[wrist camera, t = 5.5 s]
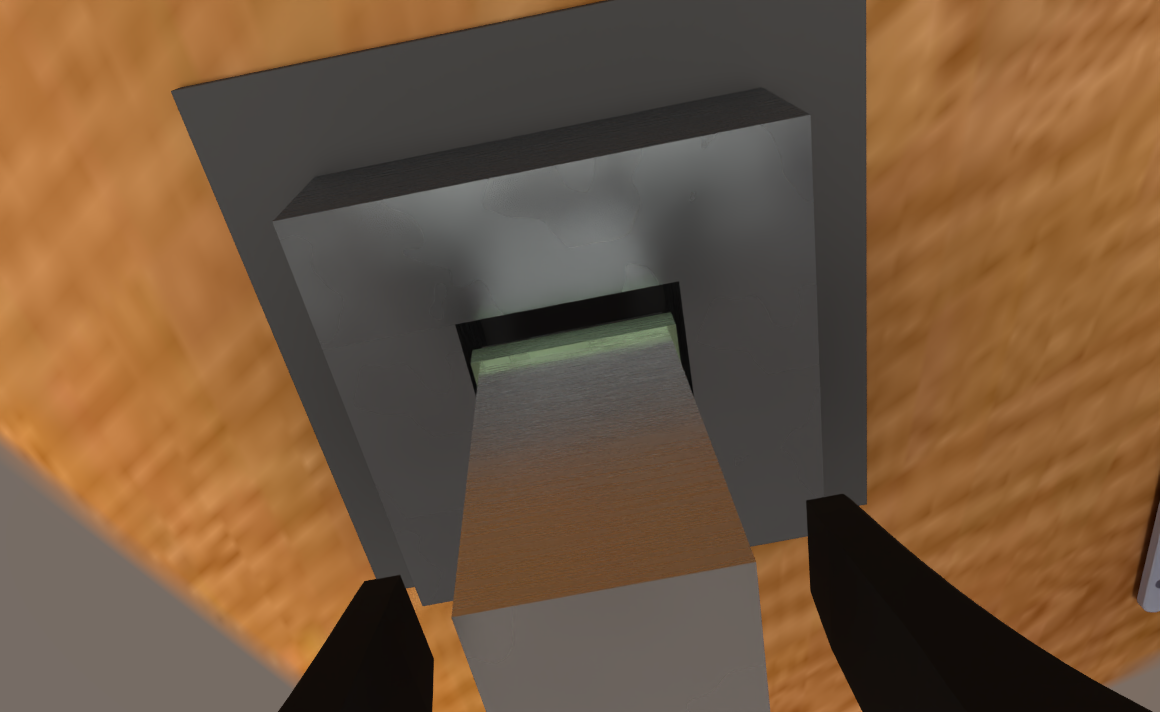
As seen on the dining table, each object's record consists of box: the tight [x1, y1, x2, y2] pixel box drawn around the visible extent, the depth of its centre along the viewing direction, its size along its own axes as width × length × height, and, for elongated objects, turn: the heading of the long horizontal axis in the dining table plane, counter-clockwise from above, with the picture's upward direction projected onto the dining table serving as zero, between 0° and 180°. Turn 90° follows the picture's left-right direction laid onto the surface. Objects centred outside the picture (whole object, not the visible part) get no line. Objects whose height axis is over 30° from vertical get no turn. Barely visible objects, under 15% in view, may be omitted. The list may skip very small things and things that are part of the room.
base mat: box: [171, 0, 867, 588], centre depth 21 cm, size 16×16×1 cm
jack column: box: [452, 312, 770, 712], centre depth 14 cm, size 4×4×8 cm
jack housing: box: [272, 87, 824, 606], centre depth 19 cm, size 11×11×4 cm
